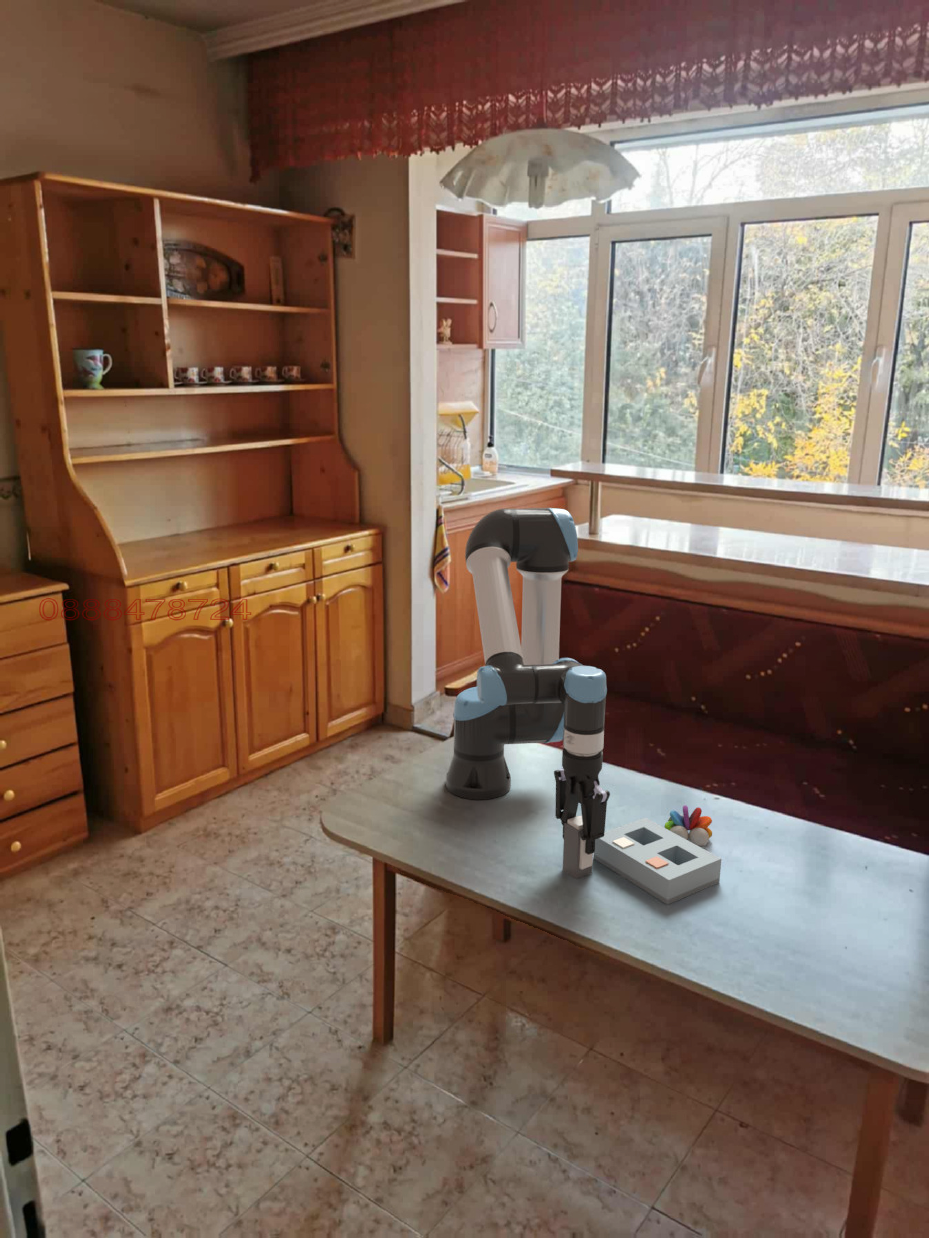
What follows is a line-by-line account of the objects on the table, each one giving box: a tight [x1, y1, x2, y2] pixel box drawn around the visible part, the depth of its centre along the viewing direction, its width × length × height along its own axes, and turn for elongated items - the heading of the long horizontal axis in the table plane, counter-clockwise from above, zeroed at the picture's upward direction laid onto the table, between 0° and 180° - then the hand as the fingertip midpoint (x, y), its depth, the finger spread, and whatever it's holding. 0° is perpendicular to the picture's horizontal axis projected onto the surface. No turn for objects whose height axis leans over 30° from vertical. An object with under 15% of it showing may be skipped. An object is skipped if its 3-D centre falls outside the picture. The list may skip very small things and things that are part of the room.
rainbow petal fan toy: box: [664, 805, 713, 847], centre depth 193 cm, size 8×10×7 cm
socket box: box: [593, 817, 722, 905], centre depth 181 cm, size 20×14×5 cm
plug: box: [562, 814, 593, 879], centre depth 180 cm, size 4×4×11 cm
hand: (577, 861), depth 180 cm, fingers closed on plug, 4 cm apart
